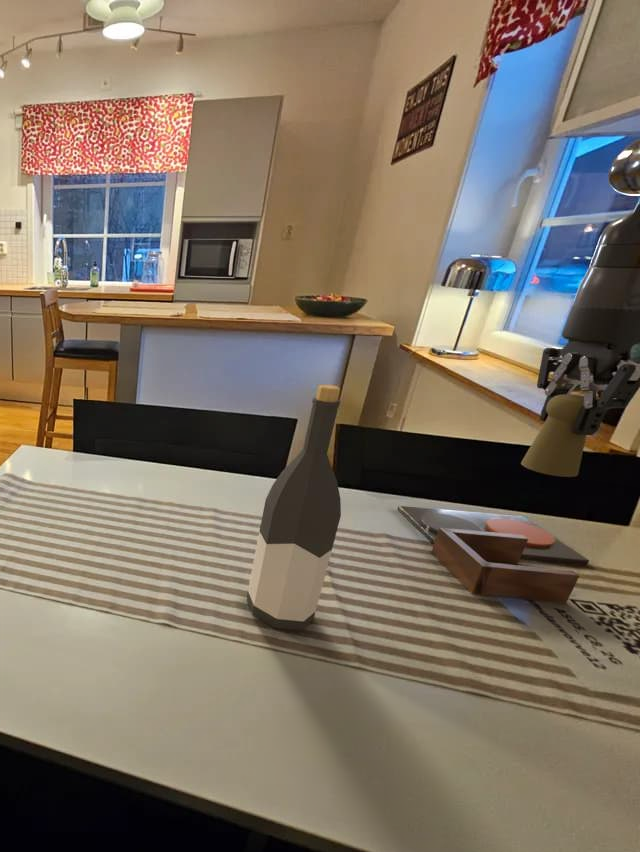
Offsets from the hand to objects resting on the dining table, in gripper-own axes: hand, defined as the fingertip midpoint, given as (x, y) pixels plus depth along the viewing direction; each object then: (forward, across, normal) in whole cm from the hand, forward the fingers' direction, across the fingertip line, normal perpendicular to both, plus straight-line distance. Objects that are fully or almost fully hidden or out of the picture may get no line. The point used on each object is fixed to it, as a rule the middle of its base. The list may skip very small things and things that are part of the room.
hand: (565, 427), depth 70 cm
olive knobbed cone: (+7, 0, 0) cm, 7 cm away
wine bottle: (+20, -21, +41) cm, 51 cm away
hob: (+21, +5, +2) cm, 22 cm away
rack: (+21, -8, +8) cm, 23 cm away
